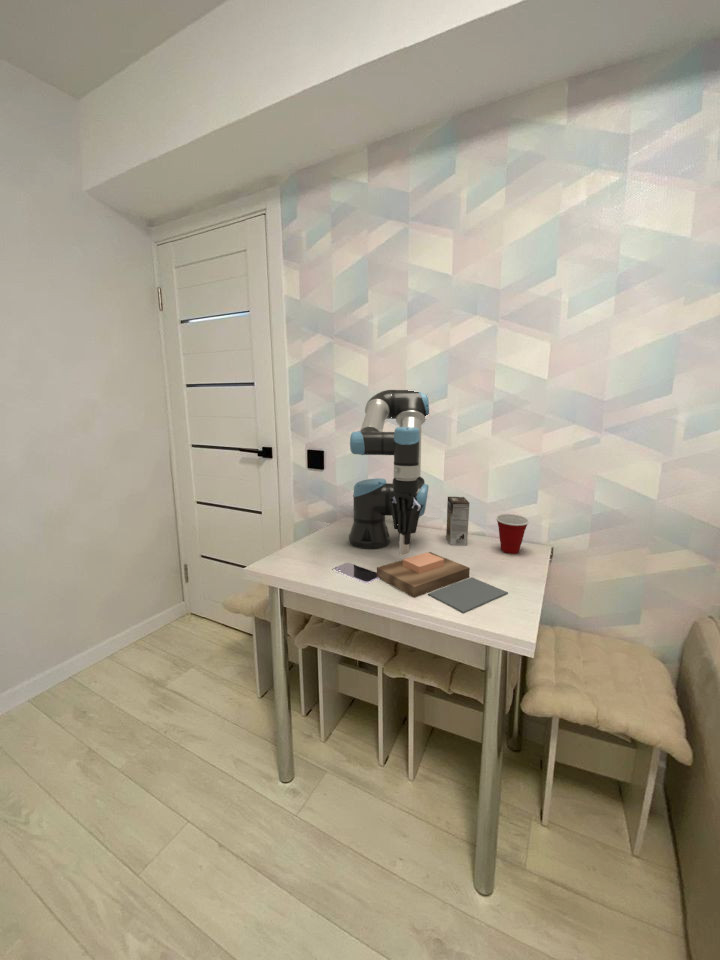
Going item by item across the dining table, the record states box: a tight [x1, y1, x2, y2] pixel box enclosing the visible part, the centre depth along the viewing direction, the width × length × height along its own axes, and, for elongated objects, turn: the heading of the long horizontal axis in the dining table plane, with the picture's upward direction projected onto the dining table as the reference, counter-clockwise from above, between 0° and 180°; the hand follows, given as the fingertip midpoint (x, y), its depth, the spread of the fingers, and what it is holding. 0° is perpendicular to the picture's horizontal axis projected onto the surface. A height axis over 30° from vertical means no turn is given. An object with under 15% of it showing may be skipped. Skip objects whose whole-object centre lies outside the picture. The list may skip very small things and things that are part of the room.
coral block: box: [402, 552, 444, 574], centre depth 120 cm, size 7×10×2 cm
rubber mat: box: [427, 577, 509, 614], centre depth 108 cm, size 12×18×1 cm, turn 126°
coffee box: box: [445, 496, 470, 546], centre depth 150 cm, size 9×6×16 cm
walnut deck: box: [376, 551, 471, 598], centre depth 119 cm, size 16×22×3 cm
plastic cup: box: [495, 513, 530, 555], centre depth 140 cm, size 11×11×12 cm
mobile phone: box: [332, 562, 379, 584], centre depth 122 cm, size 8×1×15 cm
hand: (404, 553), depth 126 cm, fingers closed
